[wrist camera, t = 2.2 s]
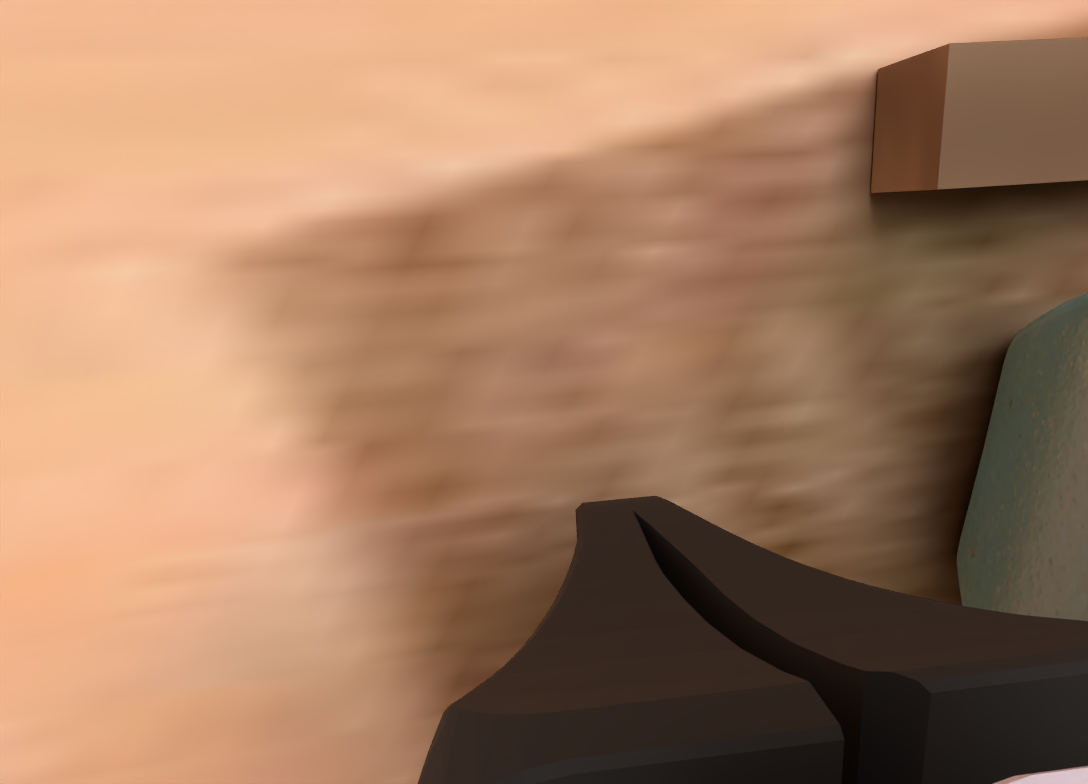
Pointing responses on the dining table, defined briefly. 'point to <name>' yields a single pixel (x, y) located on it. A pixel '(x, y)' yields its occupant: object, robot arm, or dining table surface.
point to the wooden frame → (983, 116)
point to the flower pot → (1034, 478)
